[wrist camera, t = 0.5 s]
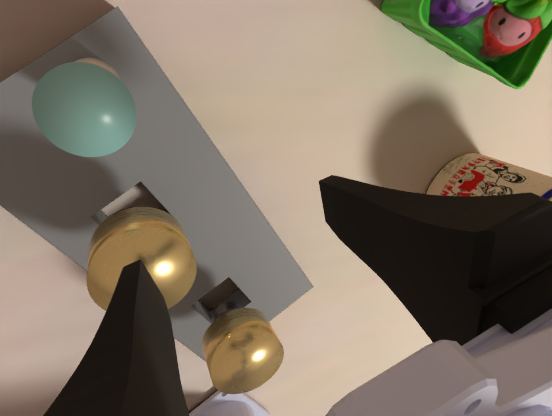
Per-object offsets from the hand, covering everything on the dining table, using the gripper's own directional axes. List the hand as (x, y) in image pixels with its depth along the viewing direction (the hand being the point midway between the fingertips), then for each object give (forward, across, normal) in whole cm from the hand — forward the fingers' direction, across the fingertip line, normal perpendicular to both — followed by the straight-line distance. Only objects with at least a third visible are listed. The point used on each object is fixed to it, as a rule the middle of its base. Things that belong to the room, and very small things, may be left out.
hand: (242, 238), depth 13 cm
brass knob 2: (+6, +2, +10) cm, 12 cm away
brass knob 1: (+7, +4, +2) cm, 8 cm away
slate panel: (+10, +3, +4) cm, 11 cm away
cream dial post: (+8, +3, -5) cm, 10 cm away
